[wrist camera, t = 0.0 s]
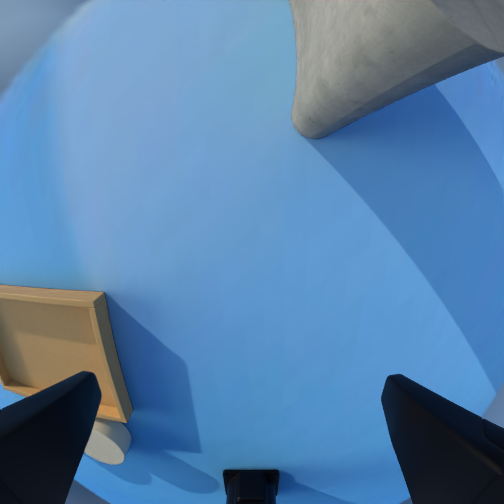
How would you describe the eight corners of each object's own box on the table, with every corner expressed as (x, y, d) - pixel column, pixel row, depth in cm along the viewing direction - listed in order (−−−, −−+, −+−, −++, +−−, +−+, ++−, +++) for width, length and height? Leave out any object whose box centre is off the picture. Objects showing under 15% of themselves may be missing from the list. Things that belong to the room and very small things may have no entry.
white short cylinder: (137, 451, 28) (131, 469, 25) (92, 441, 28) (83, 457, 25) (124, 415, 27) (115, 434, 24) (75, 405, 27) (64, 421, 24)
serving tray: (133, 410, 26) (127, 423, 24) (12, 380, 26) (3, 388, 24) (104, 291, 23) (93, 301, 21) (-21, 282, 23) (-32, 288, 21)
